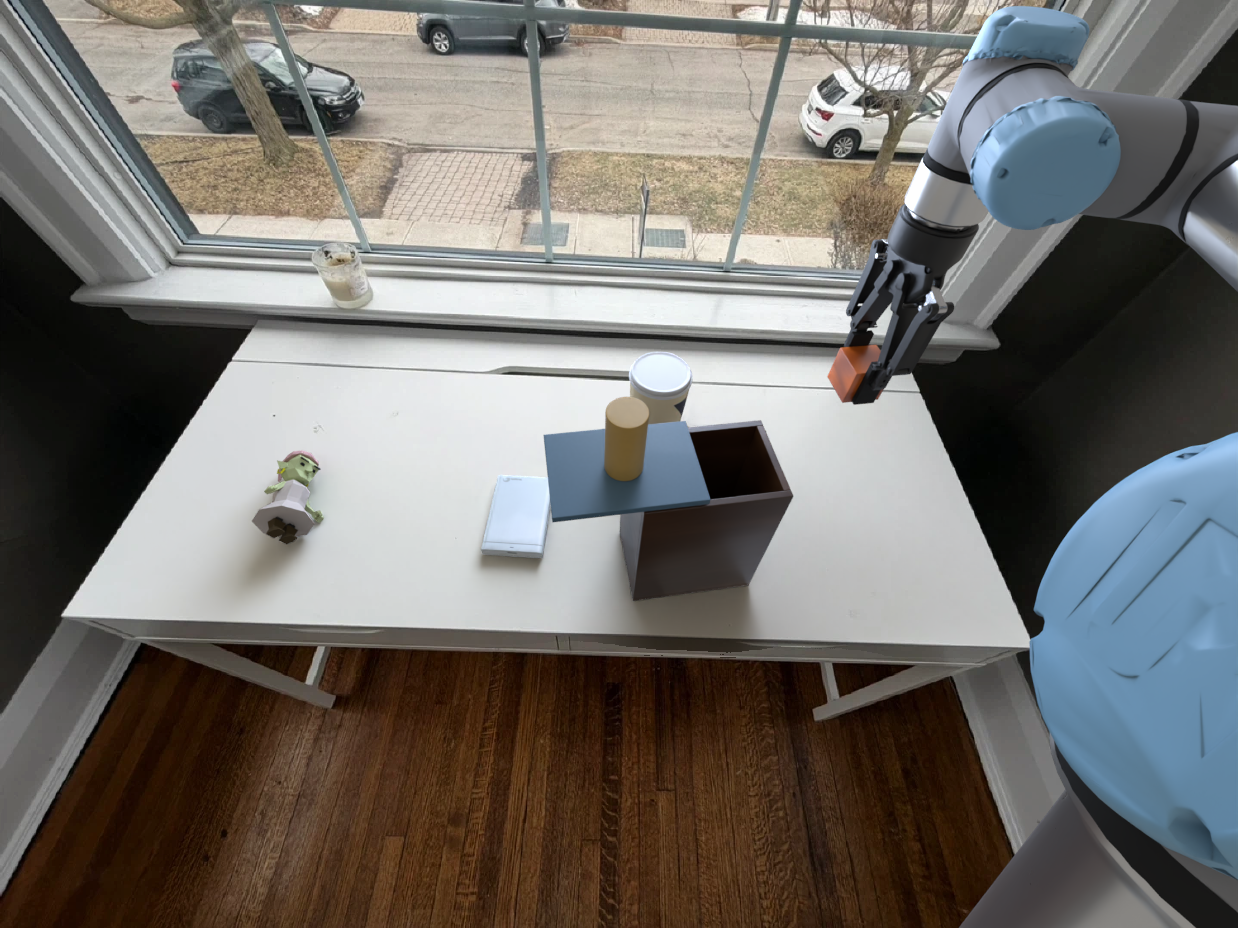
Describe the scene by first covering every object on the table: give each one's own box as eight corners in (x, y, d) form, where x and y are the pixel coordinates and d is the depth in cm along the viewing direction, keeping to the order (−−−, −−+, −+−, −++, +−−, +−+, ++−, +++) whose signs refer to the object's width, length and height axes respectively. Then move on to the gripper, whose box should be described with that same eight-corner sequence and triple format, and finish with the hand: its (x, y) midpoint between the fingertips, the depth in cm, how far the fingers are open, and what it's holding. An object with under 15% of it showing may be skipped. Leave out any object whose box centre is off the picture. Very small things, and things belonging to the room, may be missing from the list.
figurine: (271, 510, 66) (295, 424, 76) (226, 534, 68) (255, 447, 77) (329, 541, 72) (344, 458, 82) (286, 562, 74) (307, 478, 84)
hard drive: (497, 474, 80) (480, 548, 72) (553, 477, 80) (541, 552, 72) (499, 480, 81) (482, 554, 74) (554, 484, 81) (542, 558, 74)
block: (878, 399, 71) (894, 370, 67) (842, 403, 70) (856, 373, 66) (861, 373, 74) (876, 344, 70) (826, 376, 73) (840, 347, 69)
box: (748, 585, 72) (793, 496, 56) (632, 601, 70) (644, 513, 54) (726, 518, 79) (761, 419, 62) (619, 531, 77) (626, 433, 60)
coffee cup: (683, 450, 86) (694, 395, 77) (624, 446, 86) (628, 392, 77) (682, 407, 92) (692, 351, 82) (626, 404, 92) (630, 348, 82)
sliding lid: (709, 504, 54) (726, 447, 47) (552, 522, 52) (545, 466, 45) (684, 425, 61) (696, 365, 54) (543, 439, 59) (537, 379, 52)
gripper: (1032, 261, 48) (912, 434, 67) (930, 169, 59) (850, 340, 78) (955, 266, 48) (855, 440, 66) (865, 172, 58) (801, 344, 77)
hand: (853, 386), depth 72 cm, fingers closed on block, 5 cm apart
